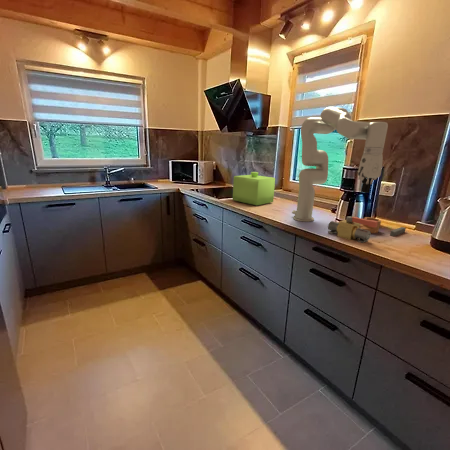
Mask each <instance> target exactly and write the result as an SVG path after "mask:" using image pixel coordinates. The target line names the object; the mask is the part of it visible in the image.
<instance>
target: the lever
mask: <svg viewBox="0 0 450 450" xmlns="http://www.w3.org/2000/svg"><path fill="white" fill-rule="evenodd" d="M345 220H346V221H347V222H355V223H360V224H364V225H368V226H370V227H374V228H375V227H377V224H378V221H373V220H366V219H364V218H362V217H356V216H346V219H345Z"/></svg>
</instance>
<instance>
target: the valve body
mask: <svg viewBox="0 0 450 450" xmlns="http://www.w3.org/2000/svg"><path fill="white" fill-rule="evenodd" d="M359 226H360V223H355V222H347V221H346V219H343V220H340V221H339V222H337V221H333V220H331V221H329V223H328V225H327V227H328V234H330V235H334V234H337V237H339V238H342V239H346V240H349V241H351V240H357V242H358V243H360V244H364V243H366V242H368V241H369V240H370V238H371V236H372V233H371V232H370V231H368V230H364V229H361V228H360V227H359Z"/></svg>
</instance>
